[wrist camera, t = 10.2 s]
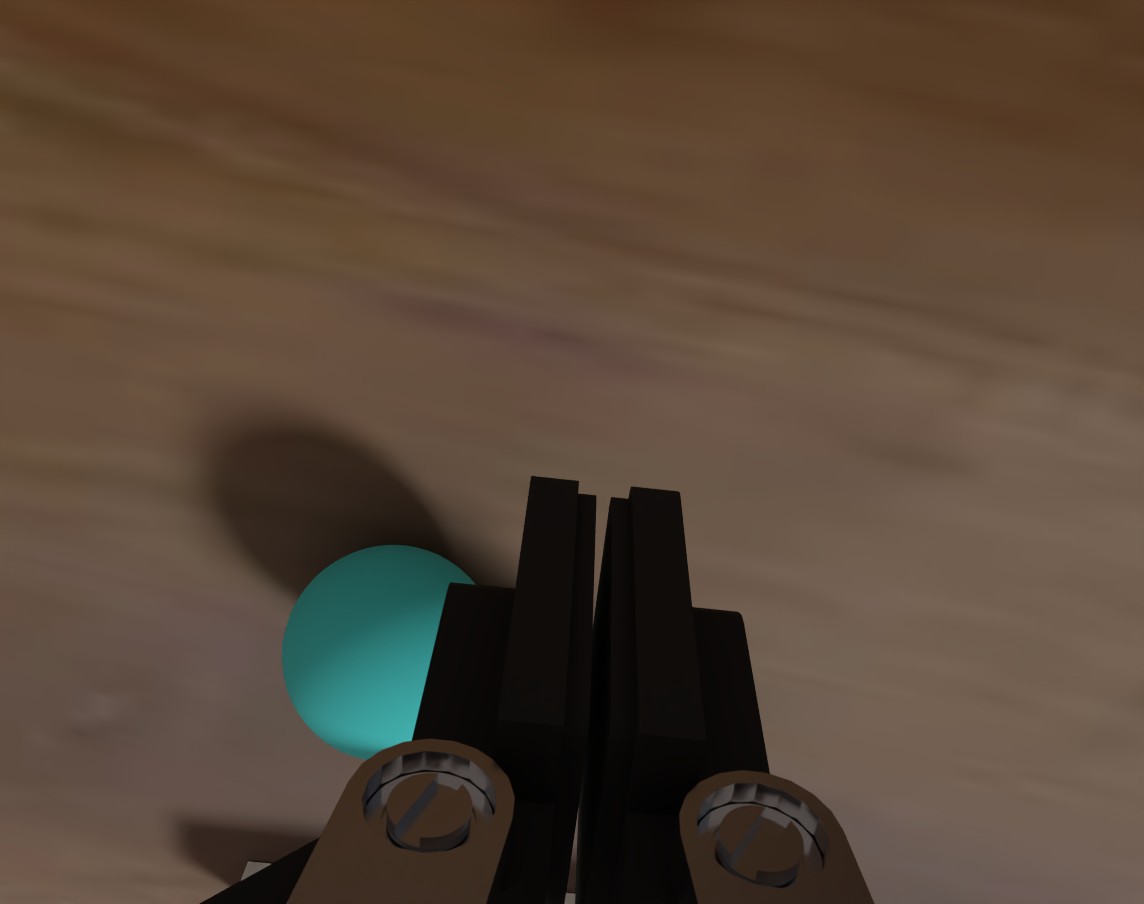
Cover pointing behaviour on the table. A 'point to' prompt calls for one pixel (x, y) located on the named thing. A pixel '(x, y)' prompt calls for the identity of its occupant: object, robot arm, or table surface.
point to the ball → (366, 645)
